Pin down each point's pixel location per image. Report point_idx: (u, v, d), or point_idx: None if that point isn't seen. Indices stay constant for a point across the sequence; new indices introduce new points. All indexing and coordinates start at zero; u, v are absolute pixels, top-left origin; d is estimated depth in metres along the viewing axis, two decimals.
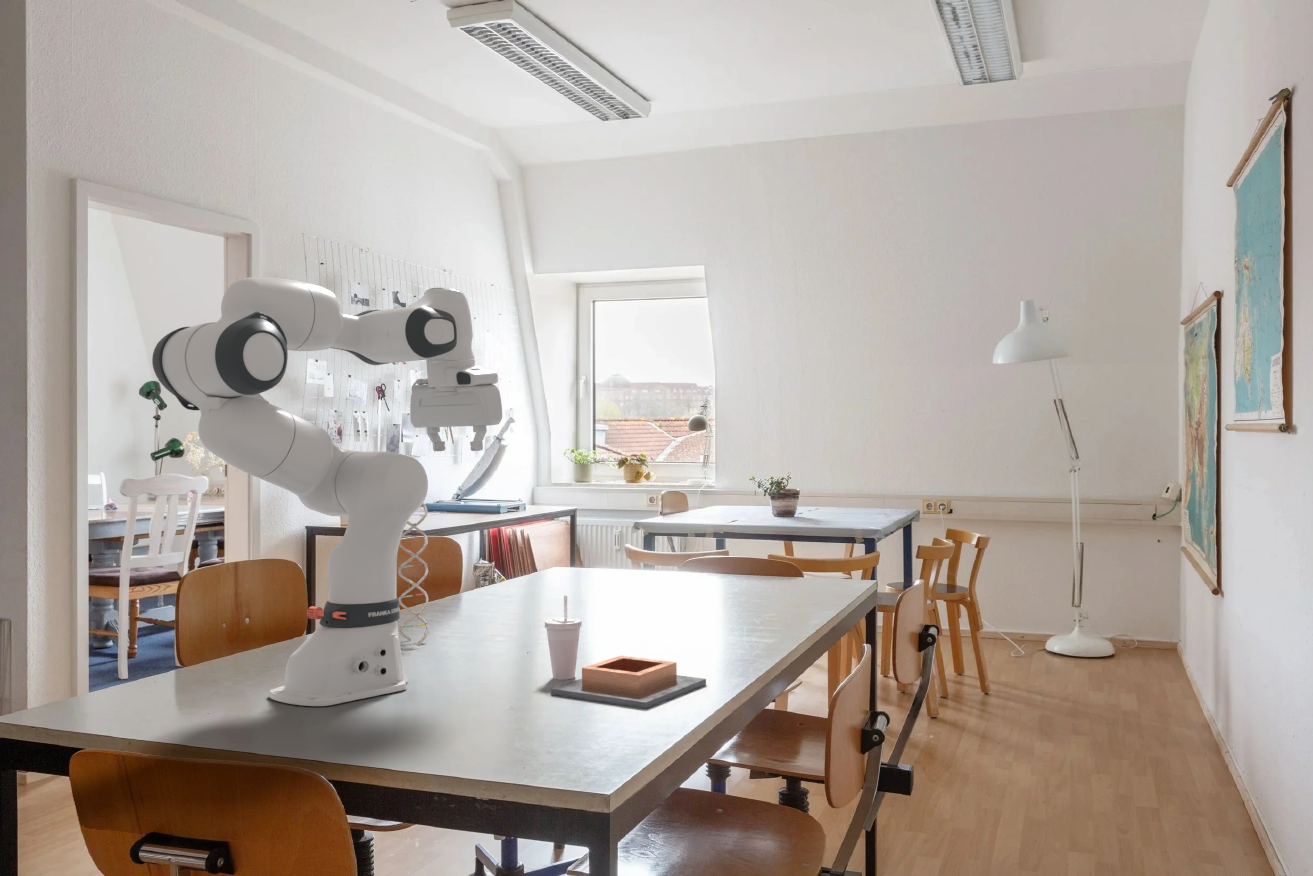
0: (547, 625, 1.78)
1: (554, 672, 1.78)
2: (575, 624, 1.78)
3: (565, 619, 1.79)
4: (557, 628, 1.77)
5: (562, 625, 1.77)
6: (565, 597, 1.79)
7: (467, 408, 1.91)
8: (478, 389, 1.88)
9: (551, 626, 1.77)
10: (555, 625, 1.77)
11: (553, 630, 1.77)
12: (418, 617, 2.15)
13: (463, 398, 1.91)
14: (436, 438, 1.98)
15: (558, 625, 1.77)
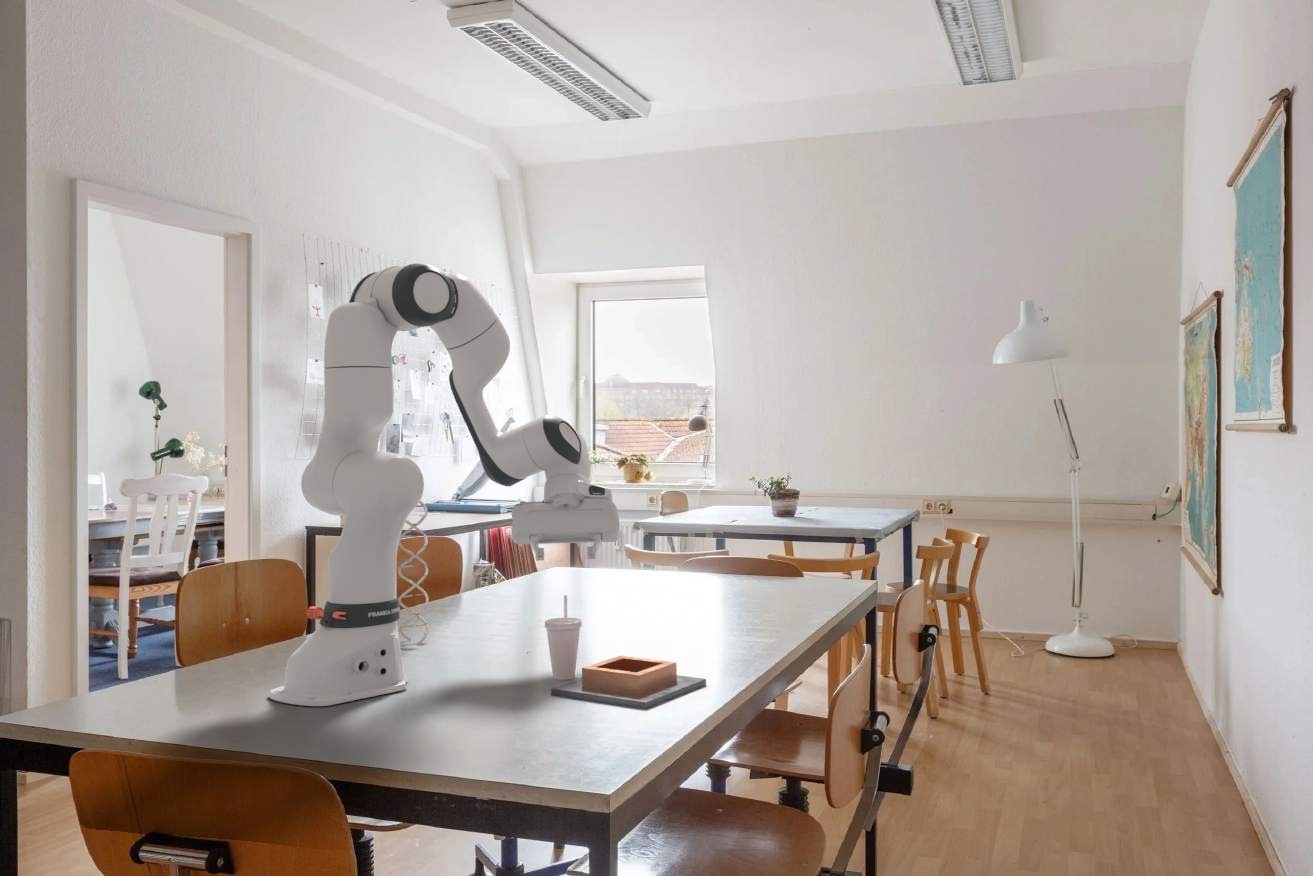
0: (547, 625, 1.78)
1: (554, 672, 1.78)
2: (575, 624, 1.78)
3: (565, 619, 1.79)
4: (557, 628, 1.77)
5: (562, 625, 1.77)
6: (565, 597, 1.79)
7: (591, 517, 1.97)
8: (611, 501, 1.99)
9: (551, 626, 1.77)
10: (555, 625, 1.77)
11: (553, 630, 1.77)
12: (418, 617, 2.15)
13: (586, 511, 1.98)
14: None
15: (558, 625, 1.77)
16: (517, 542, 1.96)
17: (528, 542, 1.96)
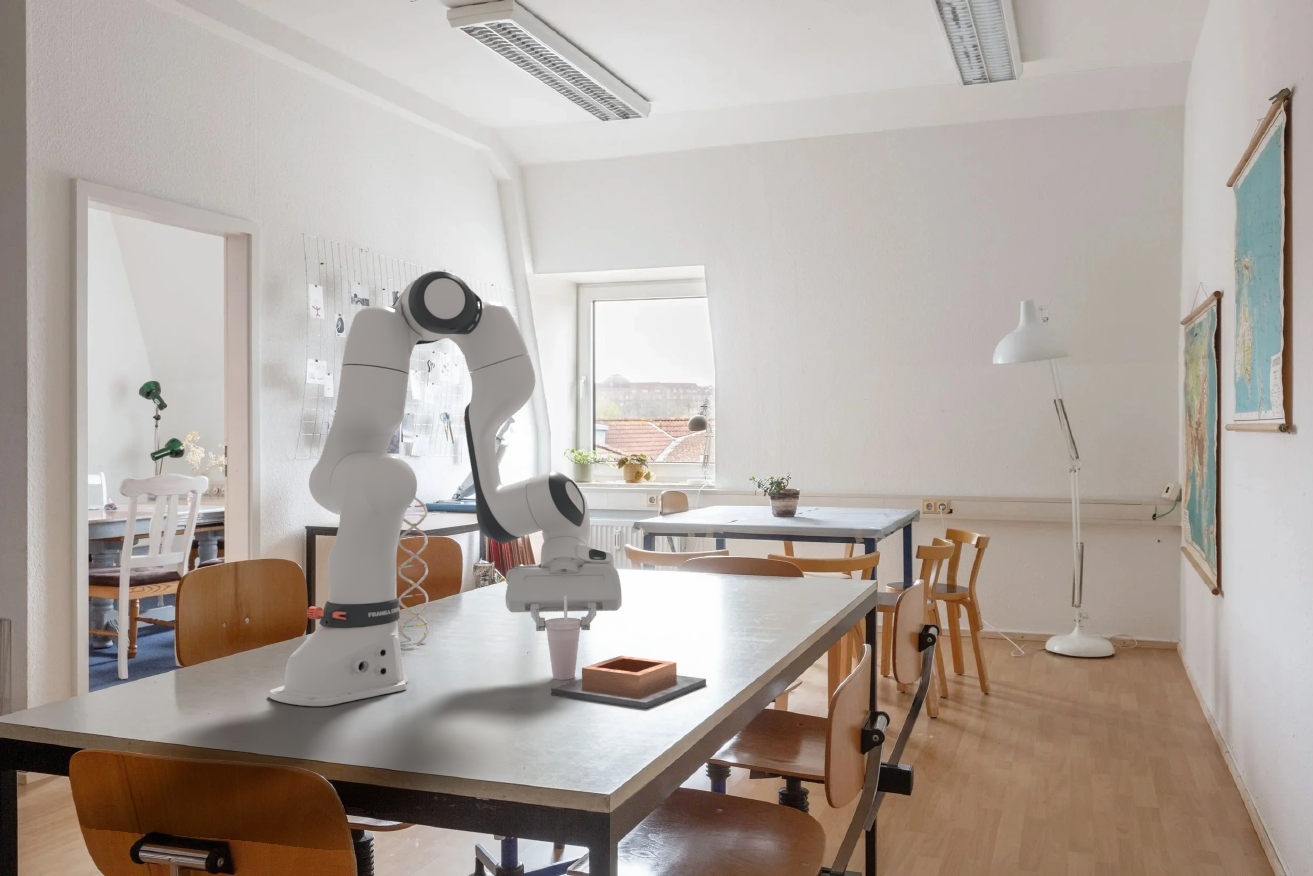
0: (547, 625, 1.78)
1: (554, 672, 1.78)
2: (575, 624, 1.78)
3: (565, 619, 1.79)
4: (557, 628, 1.77)
5: (562, 625, 1.77)
6: (565, 597, 1.79)
7: (591, 584, 1.83)
8: (613, 566, 1.86)
9: (551, 626, 1.77)
10: (555, 625, 1.77)
11: (553, 630, 1.77)
12: (418, 617, 2.15)
13: (586, 577, 1.85)
14: None
15: (558, 625, 1.77)
16: (511, 610, 1.83)
17: (523, 610, 1.83)
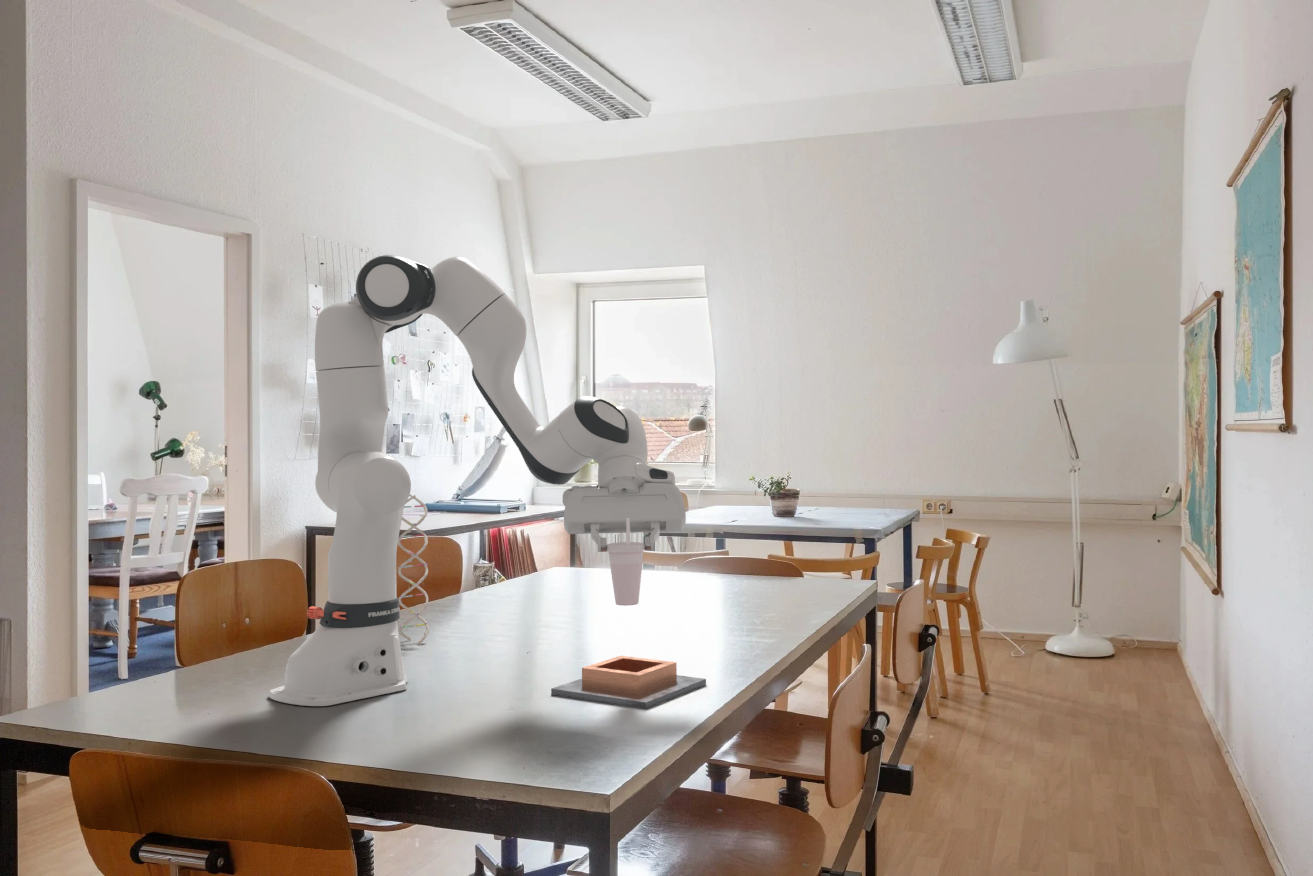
0: (609, 548, 1.69)
1: (617, 598, 1.70)
2: (639, 547, 1.69)
3: (628, 542, 1.70)
4: (620, 551, 1.68)
5: (626, 548, 1.68)
6: (628, 519, 1.70)
7: (653, 504, 1.75)
8: None
9: (614, 549, 1.68)
10: (618, 548, 1.68)
11: (616, 553, 1.68)
12: (418, 617, 2.15)
13: (647, 497, 1.76)
14: None
15: (622, 548, 1.68)
16: (570, 531, 1.74)
17: (582, 531, 1.74)
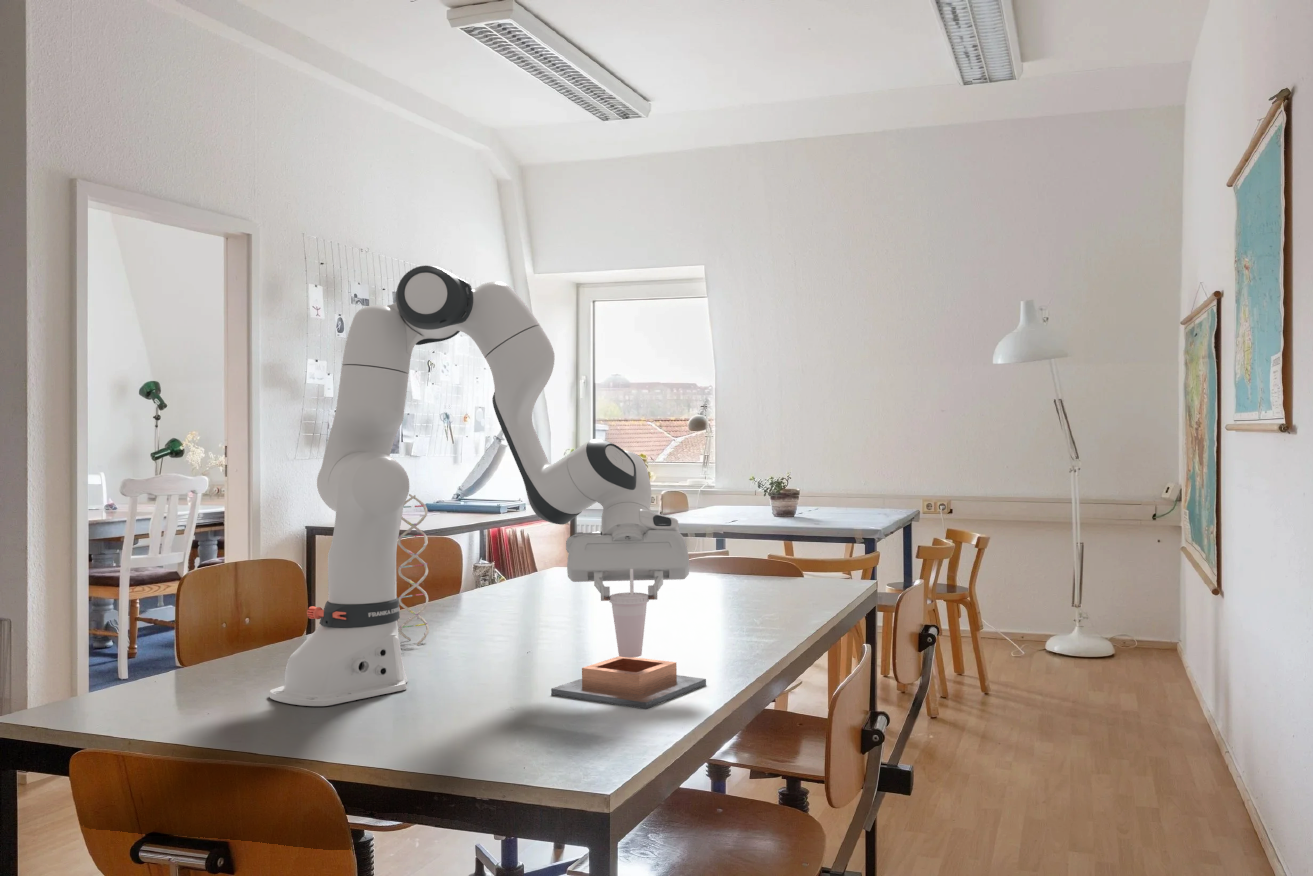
0: (613, 600, 1.68)
1: (620, 649, 1.69)
2: (642, 599, 1.68)
3: (631, 594, 1.69)
4: (624, 603, 1.67)
5: (629, 600, 1.67)
6: (631, 570, 1.69)
7: (656, 552, 1.74)
8: (679, 533, 1.76)
9: (617, 601, 1.68)
10: (622, 600, 1.67)
11: (619, 605, 1.68)
12: (418, 617, 2.15)
13: (651, 544, 1.75)
14: None
15: (625, 600, 1.67)
16: (573, 579, 1.73)
17: (585, 579, 1.73)
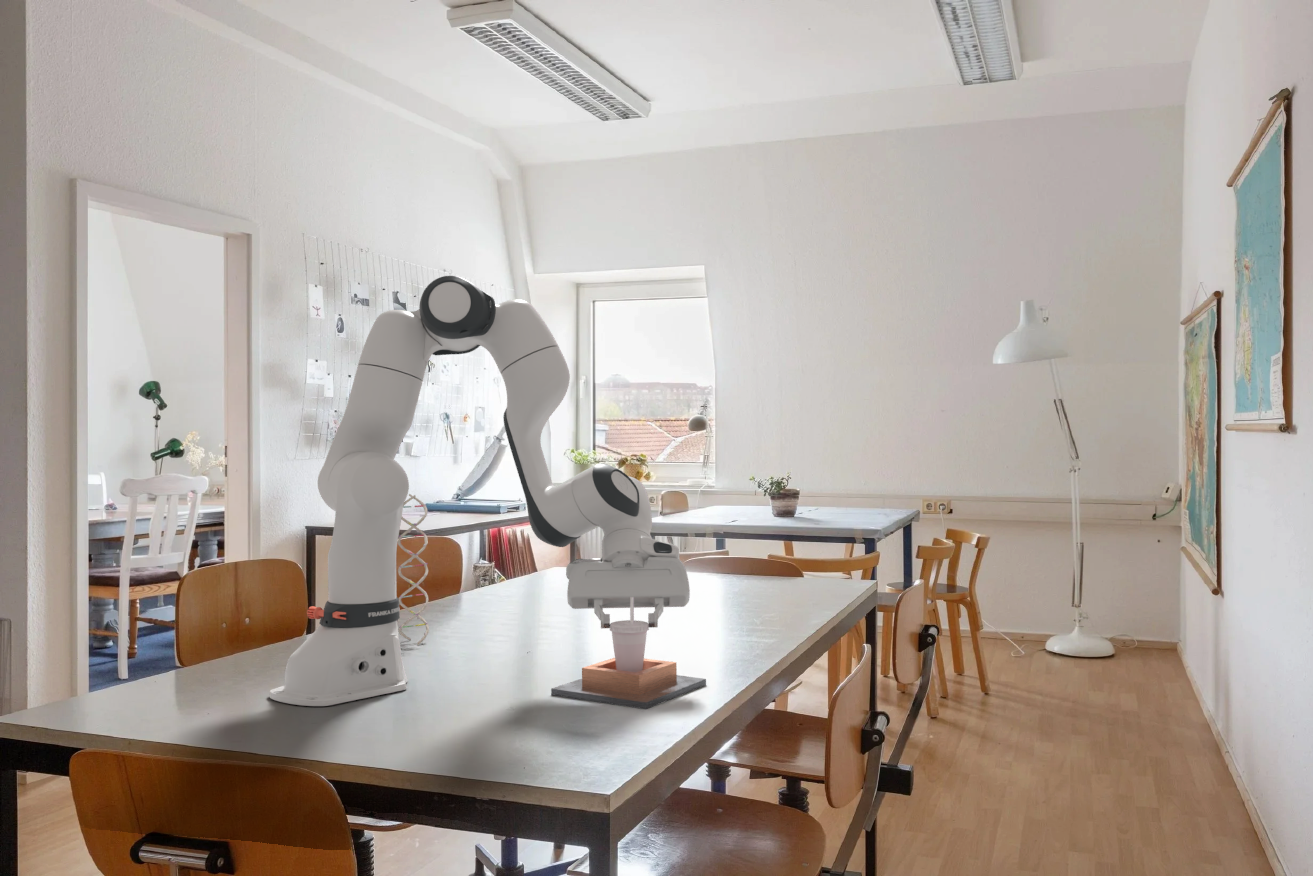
0: (613, 628, 1.68)
1: None
2: (643, 627, 1.68)
3: (631, 622, 1.69)
4: (624, 632, 1.67)
5: (629, 628, 1.67)
6: (632, 599, 1.69)
7: (657, 579, 1.74)
8: (679, 560, 1.76)
9: (617, 629, 1.67)
10: (622, 628, 1.67)
11: (619, 634, 1.67)
12: (418, 617, 2.15)
13: (651, 571, 1.75)
14: None
15: (625, 628, 1.67)
16: (573, 606, 1.73)
17: (586, 606, 1.73)
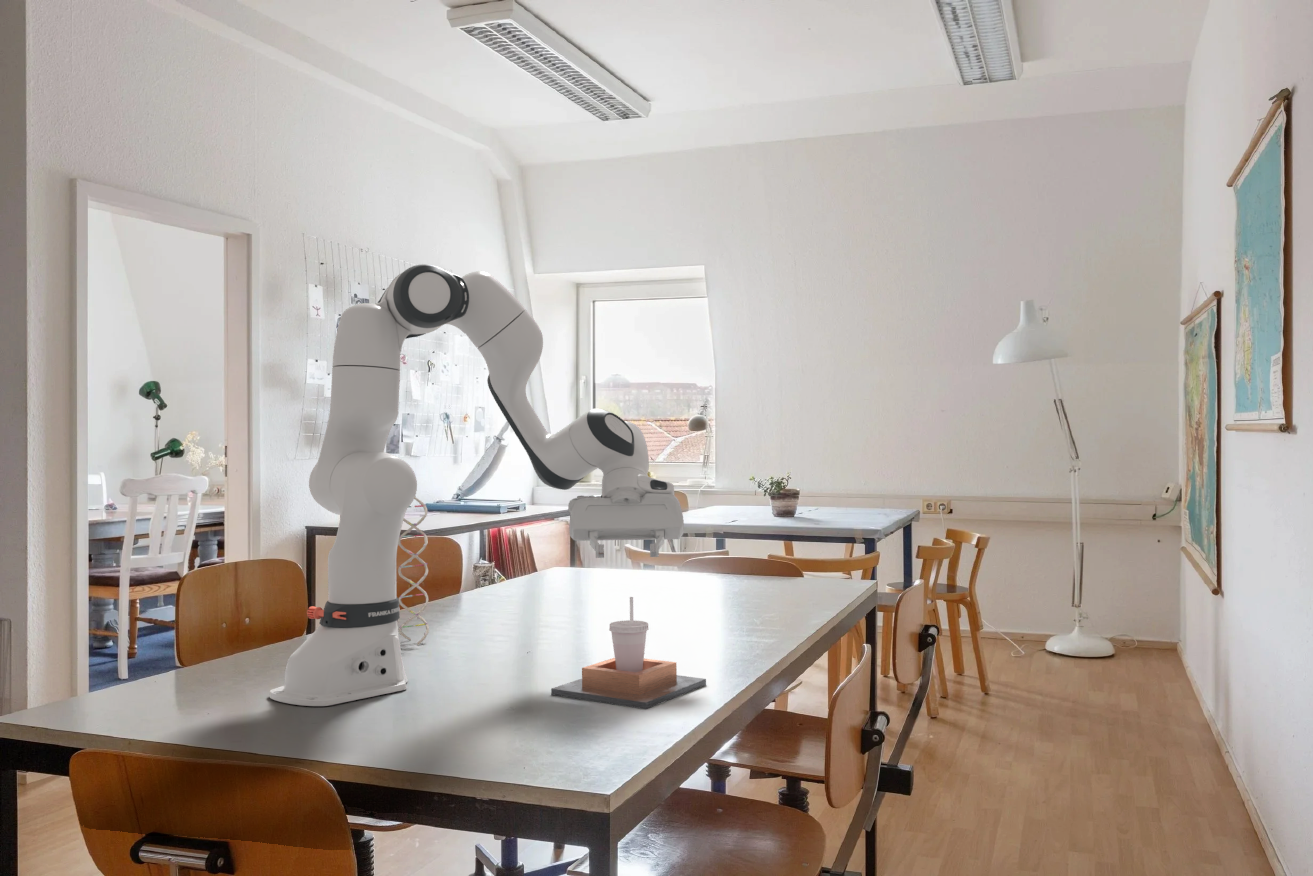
0: (612, 628, 1.68)
1: None
2: (642, 627, 1.68)
3: (631, 622, 1.69)
4: (623, 632, 1.67)
5: (629, 628, 1.67)
6: (631, 599, 1.69)
7: (653, 513, 1.86)
8: (674, 496, 1.88)
9: (617, 629, 1.67)
10: (621, 628, 1.67)
11: (619, 634, 1.67)
12: (418, 617, 2.15)
13: (648, 506, 1.87)
14: None
15: (625, 628, 1.67)
16: (575, 538, 1.85)
17: (586, 538, 1.85)
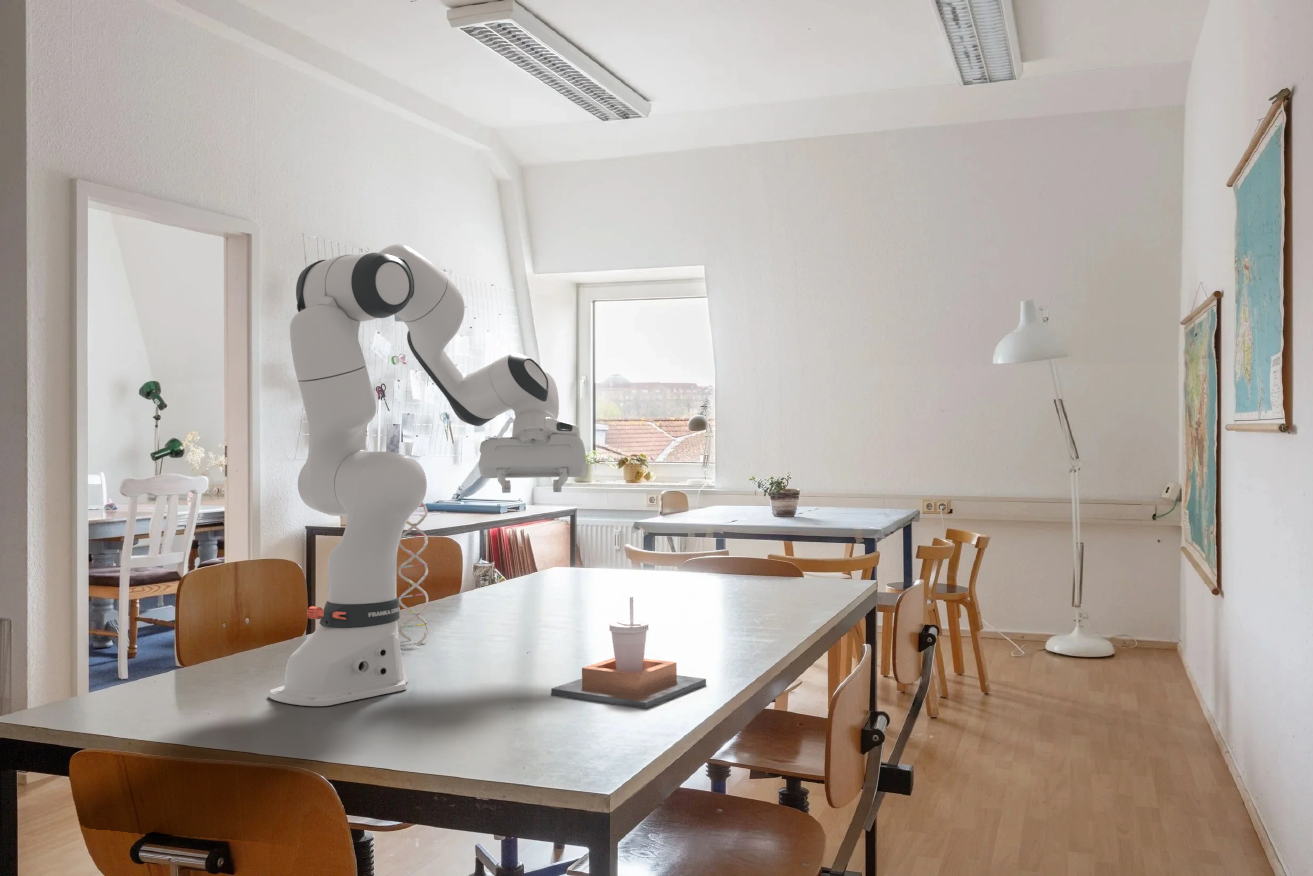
0: (612, 628, 1.68)
1: None
2: (642, 627, 1.68)
3: (631, 622, 1.69)
4: (623, 632, 1.67)
5: (629, 628, 1.67)
6: (631, 599, 1.69)
7: (558, 452, 1.99)
8: (578, 437, 2.01)
9: (617, 629, 1.67)
10: (621, 628, 1.67)
11: (619, 634, 1.67)
12: (418, 617, 2.15)
13: (553, 446, 2.00)
14: None
15: (625, 628, 1.67)
16: (484, 476, 1.98)
17: (495, 476, 1.98)
